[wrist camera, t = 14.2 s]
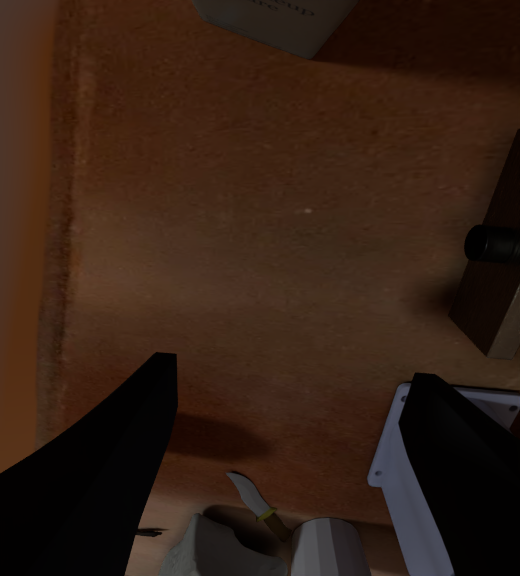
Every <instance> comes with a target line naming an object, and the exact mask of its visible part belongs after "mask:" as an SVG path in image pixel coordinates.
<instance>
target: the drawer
mask: <svg viewBox="0 0 520 576" xmlns="http://www.w3.org/2000/svg"><path fill="white" fill-rule="evenodd" d="M464 250H465V255H466V257H467V258H468V259H469V261H468V263H467V266H466V269H465V271H464V274H463V277H462V279H461V282H460V285H459V287H458V290H457V293H456V295H455V298H454V301H453V303H452V306H451V309H450V311H449V314H448V317H449V318H450V319H451V320H452V321H453V322H454V323H455V324H456V325H457V326H458V327H459V328H460V329H461V331H462V332H463V333H464V334H465V335H466V336H467V337H468V338H469V339H470V340H471V341H472V342H473V343H474V344H475V345H476V347H477V348H478V349H479V350H480V351H481V352H482V353H483V354H484V355H485V356H486V357H487V358H496V359H507V360H512V359H513V357H514V355H515V353H516V351H517V349H518V347H519V345H520V129H518V130H517V132H516V135H515V138H514V140H513V143H512V146H511V148H510V151H509V154H508V156H507V159H506V162H505V164H504V167H503V170H502V172H501V175H500V178H499V180H498V183H497V186H496V188H495V191H494V194H493V196H492V199H491V202H490V204H489V207H488V210H487V213H486V215H485V218H484V221H483V223H482V225H476V226H474V227H473V228H472V229H471V230H470V231H469V233H468V234H467V237H466V240H465V245H464Z"/></svg>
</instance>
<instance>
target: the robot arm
mask: <svg viewBox="0 0 520 576" xmlns="http://www.w3.org/2000/svg"><path fill="white" fill-rule="evenodd" d="M403 396H406V397H404V398H402V397H403ZM177 407H178V393H177V354H172V353H160V352H156V353H155V354H153V355H152V356H151V357H150V358H149V359H148V360H147V361H146V362H145V363H144V364H143V365H142V366H141V367H140V368H138V369H137V370H136V371H135V372H134V373H133V374H132V375H131V376H130V377H129V378H128V379H127V380H126V381H125V382H124V383H122V384H121V385H120V386H119V387H118V388H117V389H116V390H115V391H113V392H112V393H111V394H110V395H109V396H108V397H107V398H106V399H104V400H103V401H102V402H101V403H100V404H98V405H97V406H96V407H95V408H94V409H92V410H91V411H90V412H89V413H87V414H86V415H85V416H84V417H82V418H81V419H80V420H79V421H77V422H76V423H75V424H74V425H72V426H71V427H70V428H68V429H67V430H66V431H64V432H63V433H62V434H60V435H59V436H57V437H56V438H55V439H53V440H52V441H50V442H49V443H47V444H46V445H45V446H43V447H42V448H40V449H39V450H37V451H36V452H34V453H33V454H31V455H30V456H28V457H26V458H25V459H23V460H22V461H20V462H18V463H17V464H15V465H13V466H12V467H10V468H8V469H7V470H5V471H3V472H2V473H0V576H124V575H125V571H126V567H127V564H128V560H129V557H130V553H131V549H132V546H133V542H134V538H135V535H136V531H137V528H138V525H139V522H140V519H141V516H142V513H143V511H144V508H145V505H146V503H147V500H148V497H149V494H150V492H151V489H152V486H153V484H154V481H155V478H156V475H157V473H158V470H159V467H160V465H161V462H162V459H163V456H164V454H165V451H166V448H167V445H168V442H169V440H170V436H171V432H172V428H173V424H174V420H175V416H176V412H177ZM519 410H520V394H519V393H516V392H505V391H494V390H482V389H471V388H459V387H452V386H451V385H449V384H448V383H447V382H445V381H444V380H443V379H441V378H440V377H438V376H437V375H436V374H427V373H415V374H414V377H413V380H412V383H403V384H401V385H400V386H399V387H398V388H397V391H396V394H395V397H394V400H393V403H392V406H391V409H390V412H389V415H388V418H387V421H386V424H385V427H384V430H383V432H382V435H381V438H380V441H379V444H378V447H377V450H376V453H375V456H374V459H373V462H372V465H371V468H370V471H369V474H368V477H367V480H368V484H369V485H371V486H374V487H382V490H383V493H384V496H385V499H386V503H387V506H388V509H389V512H390V515H391V518H392V522H393V525H394V528H395V531H396V534H397V538H398V541H399V544H400V547H401V550H402V554H403V557H404V560H405V563H406V566H407V569H408V572H409V575H410V576H520V440H519V439H518V438H517V437H515V436H514V435H513V434H512V432H511V431H510V430H509V428H510V426H511V425H512V423H513V421H514V419H515V417H516V415H517V414H518V412H519Z"/></svg>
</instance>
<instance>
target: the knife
mask: <svg viewBox="0 0 520 576" xmlns="http://www.w3.org/2000/svg"><path fill="white" fill-rule="evenodd" d="M226 474H227V475H228V476H229V477H230V479H231V480H232V481H233V482H234V484H235V485H236V487H237V488H238V490H239V492H240V495H241V498H242V500H243V501H244V503H245V504H246V505H247V506H248V507H249V508H250V509H251V510H252V511H253V512H254V513H255V514H256V522H259V521H261V520H264V521H265V523H266V524H267V526H268V527H269V528H270V530H271V531H272V532H273V533H275V534H276V535H277V536H278V537H279V539H280V540H281V541H282V542H286V541H287V539H288V538H289V536H290V534H291V532H292V530H290V529H288V528H287V527H286V526H285V525H284V524H283V522H282V521H281V520H280V519H279V518H278V517H277V516H276V515H275V514H274V513H273V512H274V511H276V510H277V508H273V507H269V506H268V505H267V503H266V502H265V501H264V500H263V499H262V498H261V496H260V495H259V493H258V491H257V489H256V488H255V486H254V485H253V483H252V482H251V481H250V480H248V479H247V478H245V477H243V476H241V475H238V474H234V473H226Z"/></svg>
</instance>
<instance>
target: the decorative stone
mask: <svg viewBox="0 0 520 576" xmlns="http://www.w3.org/2000/svg"><path fill="white" fill-rule="evenodd" d="M287 574H288V570H287V565H286V563H285V561H284V560H283V559H281V558H280V557H271V556H267V555H264V554H261V553H258V552H255V551H252V550H250V549H248V548H245V547H244V546H243V545H242V544H240V542H239V541H238V540H237V538H236V537H235V535H234V531H233V530H232V529H231V528H230V527H228V526H225V525H222V524H219V523H216V522H214V521H212V520H210V519H209V518H207V517H205V516H202V515H201V514H199V513H197V514H195V515H193V517H192V519H191V522H190V525H189V527H188V528H187V530H186V533H185V535H184V539H183V540H182V541H181V542H179V543H178V544H177V545H176V546H174V547H173V548H172V549H171V550H170V551H169V553H168V554H167V556H166V557H165V559H164V561H163V563H162V566H161V569H160V572H159V575H158V576H287Z"/></svg>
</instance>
